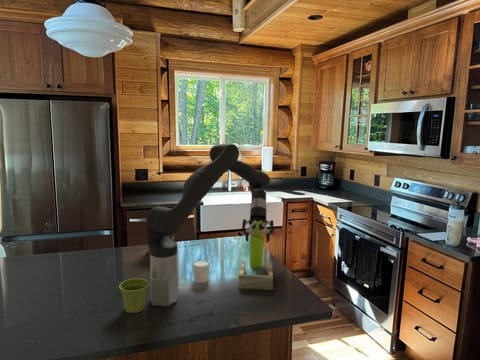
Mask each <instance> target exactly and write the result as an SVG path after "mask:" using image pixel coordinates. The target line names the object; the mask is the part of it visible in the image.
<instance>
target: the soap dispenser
mask: <svg viewBox="0 0 480 360" xmlns="http://www.w3.org/2000/svg"><path fill="white" fill-rule="evenodd" d="M254 224H255V229H253V230H252V231H253V234H252V235H251V236H250V238H249V240H250V242H249V266H250V267H251V268H254V269H261V268H262V267H263V266H264V242H265V241H264V239H265V238H264V236H263V235H262V230H261V229H259V224H264V225H266V223H265V222H254ZM266 226H267V225H266Z"/></svg>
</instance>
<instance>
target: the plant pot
mask: <svg viewBox="0 0 480 360" xmlns="http://www.w3.org/2000/svg"><path fill="white" fill-rule="evenodd" d="M149 286H150V282H149V281H148V280H147V279H145V278H136V277H135V278H129V279H125V280H124V281H122V282H121V283H119V285H118V287H119V289H120V292H121V293H122V294H121V295H122V300H123V306H124V310H125V312H126V313H128V314H131V313H133V314H138V313H139V312H142V311H144V308H145V304H146V297H147V296H146V295H147V291H148V287H149Z"/></svg>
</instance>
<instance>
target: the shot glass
mask: <svg viewBox="0 0 480 360" xmlns="http://www.w3.org/2000/svg"><path fill="white" fill-rule="evenodd" d="M210 264H211V263H210V262H209V261H208V260H197V261H193V263H192V270H193V271H192V272H193V280H194V283H198V284H204V283H207V282H208V281H209V277H210V275H209V274H210Z"/></svg>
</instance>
